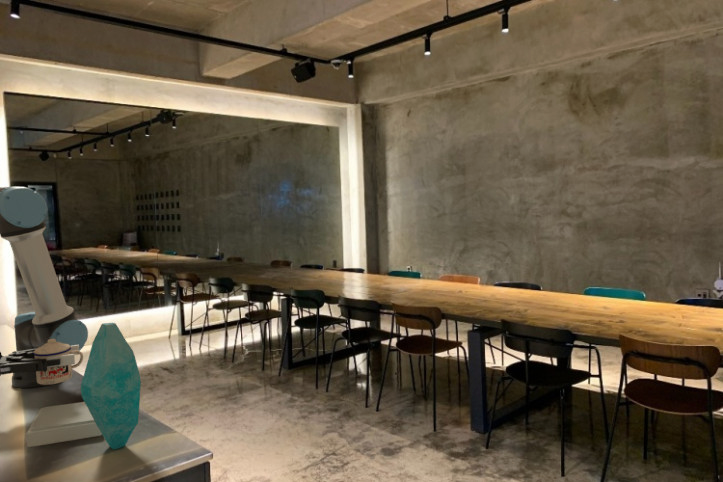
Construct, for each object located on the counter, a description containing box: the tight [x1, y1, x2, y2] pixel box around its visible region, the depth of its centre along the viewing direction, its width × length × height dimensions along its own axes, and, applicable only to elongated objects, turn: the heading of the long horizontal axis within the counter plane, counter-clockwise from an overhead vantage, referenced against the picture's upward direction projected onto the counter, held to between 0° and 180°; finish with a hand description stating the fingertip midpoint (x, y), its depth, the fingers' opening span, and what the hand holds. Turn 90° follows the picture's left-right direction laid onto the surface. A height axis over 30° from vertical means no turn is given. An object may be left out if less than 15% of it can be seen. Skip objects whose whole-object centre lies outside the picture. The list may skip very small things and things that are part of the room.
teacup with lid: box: [33, 339, 84, 386], centre depth 146 cm, size 12×9×12 cm
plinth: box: [25, 401, 103, 448], centre depth 134 cm, size 16×16×4 cm
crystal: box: [80, 322, 142, 450], centre depth 122 cm, size 12×14×30 cm
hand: (76, 354), depth 148 cm, fingers closed on teacup with lid, 9 cm apart
